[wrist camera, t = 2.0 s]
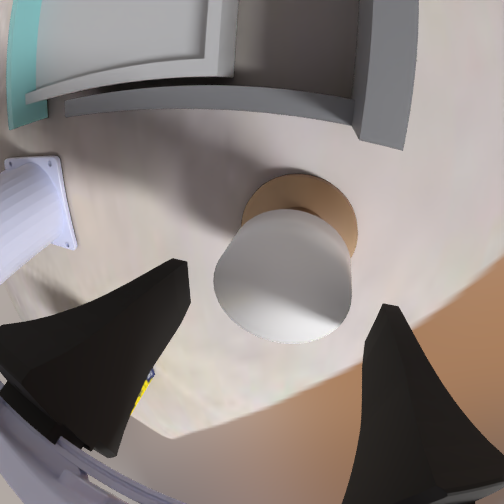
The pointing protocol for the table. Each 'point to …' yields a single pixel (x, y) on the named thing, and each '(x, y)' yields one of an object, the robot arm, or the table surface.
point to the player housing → (308, 103)
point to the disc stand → (306, 203)
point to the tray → (111, 46)
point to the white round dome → (285, 277)
